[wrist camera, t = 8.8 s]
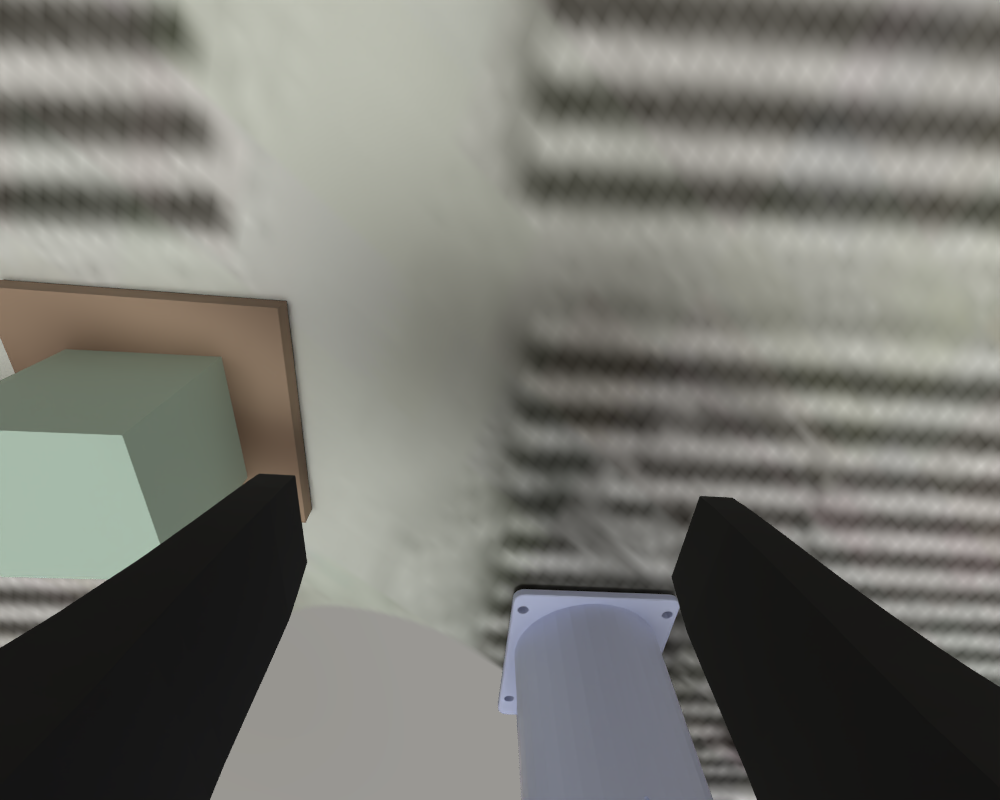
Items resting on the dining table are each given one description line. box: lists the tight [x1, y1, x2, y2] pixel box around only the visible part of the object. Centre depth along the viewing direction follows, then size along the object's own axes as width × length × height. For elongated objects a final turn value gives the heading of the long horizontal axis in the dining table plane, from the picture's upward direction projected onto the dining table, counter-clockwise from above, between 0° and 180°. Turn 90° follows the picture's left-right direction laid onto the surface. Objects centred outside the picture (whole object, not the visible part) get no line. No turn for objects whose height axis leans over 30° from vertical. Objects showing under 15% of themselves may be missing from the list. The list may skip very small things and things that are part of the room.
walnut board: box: [0, 280, 312, 523], centre depth 18 cm, size 9×9×1 cm
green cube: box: [0, 349, 247, 579], centre depth 15 cm, size 5×5×5 cm
